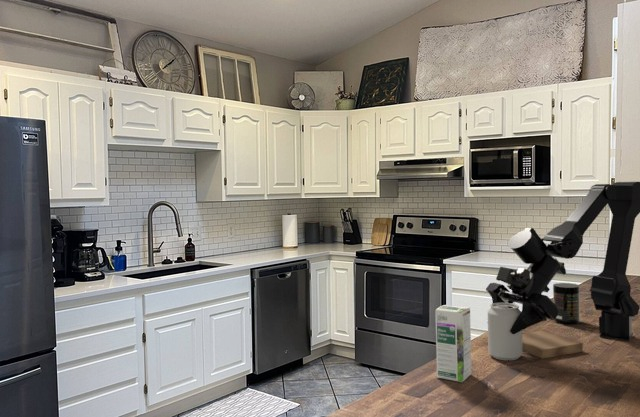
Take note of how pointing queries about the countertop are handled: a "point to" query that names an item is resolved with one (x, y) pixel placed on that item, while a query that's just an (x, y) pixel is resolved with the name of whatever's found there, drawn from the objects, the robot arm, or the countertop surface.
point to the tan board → (549, 344)
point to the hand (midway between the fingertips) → (499, 328)
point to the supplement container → (567, 303)
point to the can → (504, 332)
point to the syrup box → (453, 342)
